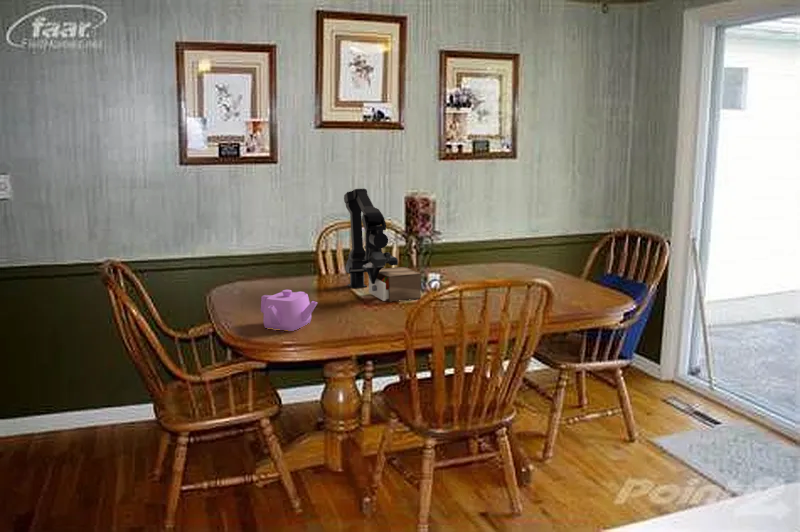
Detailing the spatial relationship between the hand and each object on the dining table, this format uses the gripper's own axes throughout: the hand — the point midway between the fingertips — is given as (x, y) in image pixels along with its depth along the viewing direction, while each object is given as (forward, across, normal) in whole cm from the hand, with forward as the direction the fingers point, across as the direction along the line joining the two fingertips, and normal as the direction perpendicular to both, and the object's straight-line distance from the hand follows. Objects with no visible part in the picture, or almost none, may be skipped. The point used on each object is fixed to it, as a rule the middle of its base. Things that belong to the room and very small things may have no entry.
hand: (373, 283), depth 279 cm
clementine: (+5, +6, 0) cm, 8 cm away
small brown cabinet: (+6, +10, 0) cm, 12 cm away
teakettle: (+6, -40, -24) cm, 47 cm away
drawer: (+5, +7, 0) cm, 9 cm away
